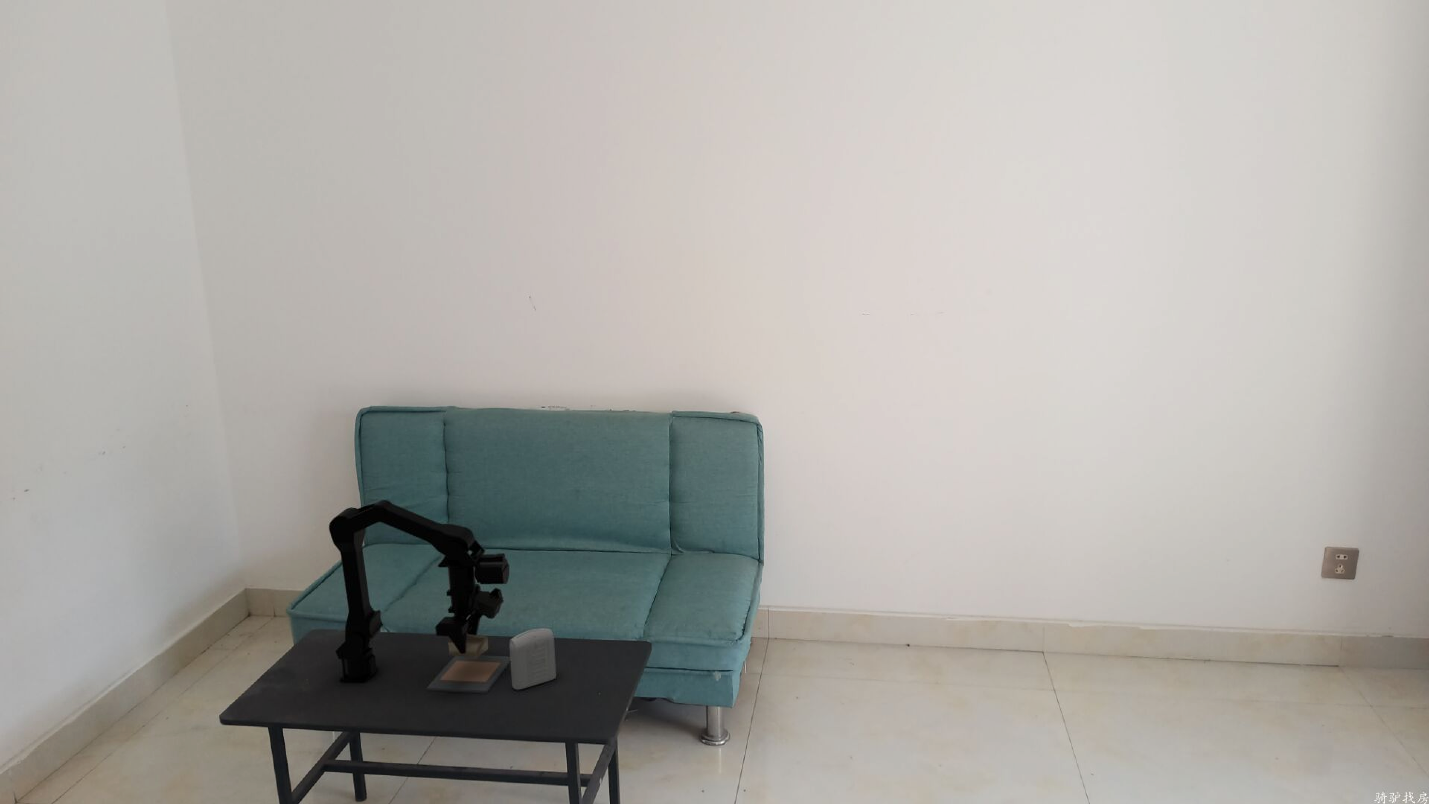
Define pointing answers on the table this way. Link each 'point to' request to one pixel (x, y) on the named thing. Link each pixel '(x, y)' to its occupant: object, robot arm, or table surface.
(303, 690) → the table surface
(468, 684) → the rubber mat
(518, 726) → the table surface
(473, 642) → the tan beveled box
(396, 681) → the table surface
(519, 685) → the grey rounded block
